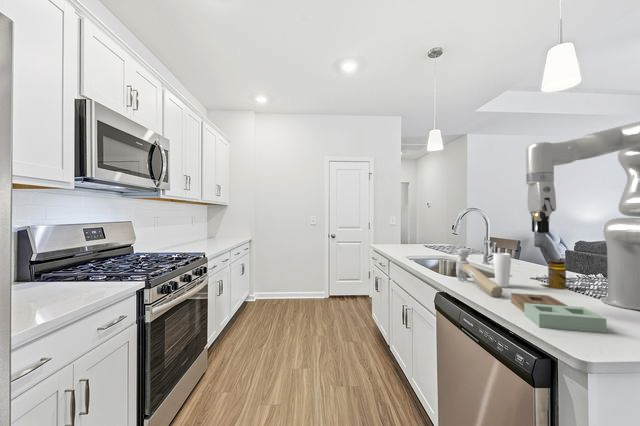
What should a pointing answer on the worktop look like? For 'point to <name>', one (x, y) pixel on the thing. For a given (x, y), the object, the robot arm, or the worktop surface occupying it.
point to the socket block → (533, 300)
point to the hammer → (475, 274)
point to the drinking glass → (502, 268)
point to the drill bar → (538, 234)
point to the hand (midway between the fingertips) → (540, 231)
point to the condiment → (556, 275)
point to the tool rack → (565, 317)
